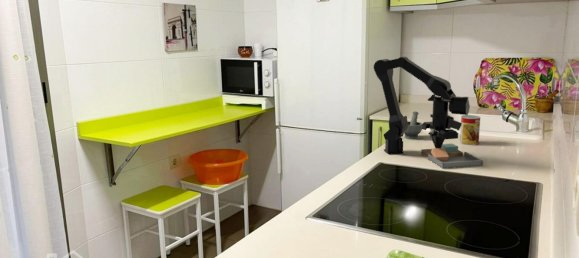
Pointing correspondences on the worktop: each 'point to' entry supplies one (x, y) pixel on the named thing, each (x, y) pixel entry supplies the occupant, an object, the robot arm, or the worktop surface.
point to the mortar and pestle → (413, 127)
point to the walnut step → (450, 154)
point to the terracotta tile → (440, 154)
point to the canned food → (470, 129)
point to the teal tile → (450, 147)
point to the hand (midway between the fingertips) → (438, 151)
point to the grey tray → (457, 161)
